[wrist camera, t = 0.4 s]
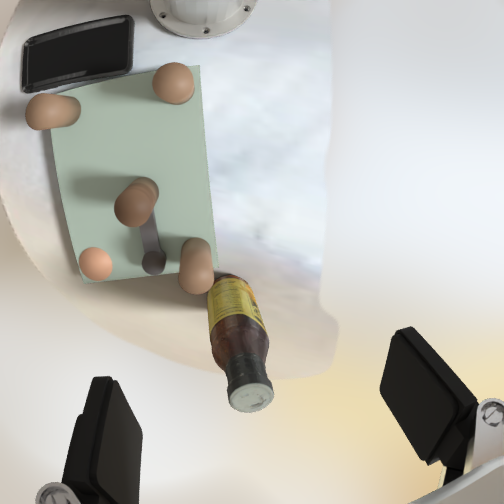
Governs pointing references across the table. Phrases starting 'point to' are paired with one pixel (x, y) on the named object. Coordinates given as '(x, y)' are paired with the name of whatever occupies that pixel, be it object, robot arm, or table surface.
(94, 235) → the stool seat
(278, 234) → the table surface
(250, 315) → the sauce bottle
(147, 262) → the folding leg
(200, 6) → the robot arm
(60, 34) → the phone
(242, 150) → the table surface
